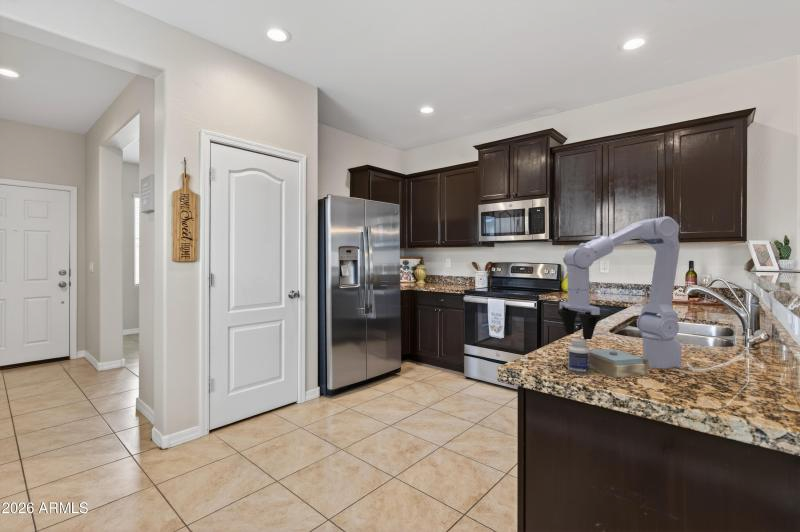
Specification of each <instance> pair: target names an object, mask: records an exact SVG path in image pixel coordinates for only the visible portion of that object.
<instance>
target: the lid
mask: <svg viewBox="0 0 800 532" xmlns="http://www.w3.org/2000/svg"><path fill="white" fill-rule="evenodd" d="M589 351H590V354H592V355H595V356H597V357H600V358H603V359H606V360H609V361H612V362H615V366H622V365H634V364H643V357H641V356H637V355H633V354H631V353H627V352H624V351H621V350H617V349H614V348H610V349H594V350H589Z"/></svg>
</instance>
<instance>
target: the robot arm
mask: <svg viewBox="0 0 800 532" xmlns="http://www.w3.org/2000/svg"><path fill="white" fill-rule="evenodd" d="M679 232H680V225H679V224H678V223H677V222H676V221H675V219H673V218H672V217H671V216H668V215H667V216H662V217H656V218H647V219H640V220H637V221H636V222H632V223H631V224H629V225H627V226H625V227H624V228H621V229H620V230H618V231H616V232H615V233H612V234H611V235H608V236H606V235H599V234H598V235H594V236H593V237H592V239H591V240H589V241H587V242H586V243H584V242H581V243H579V245H578V247H572V248H570V249H568V250H566V252H565V253H564V257H563V258H562V261H563V263H564V265H565V266H566V272H567V275H566V276H567V282H566V283H567V301H559V310H557V314H558V315H559V317H560V319H561V321H562V324H563V328H564V330H565V334H566V335H573V334H574V333H575V325H576V318H577V314H578V318H579V319H580V322H581V327H582V337H583V339H586V340H592V339H593V336H594V331H595V329H596V326H597V324H598V322H599V321H600V320H601V318H602V317H601V316H602V315H601V313H600V311H601V310H600V307H597V306H594V305H591V304H590V267H591V266H593V264H594V262H596V261H598V260H601V259H602V258H604V257H606V256H608V255H610V254H611V253H613V251H614V249H615V247H617V246H619V245H621V244H624V243H625V242H628V241H631V240H633V239H635V238H637V239H638V240H640V241H642V242H643V243H645V244H647V245H648V246H650V247H652V249H653V250H654V251H655V257H654V258H655V259H654V266H653V271H652V278H651V279H652V280H651V286H650V292H649V298H648V302H647V303H646V304H645V305H644V306H643V307H642V308H641V310H640V314H639V316H637V319H636V327H637V329H638V331H640V332H641V334H640V335H641V336H642V358H644V359H647V360H648V368H649V367H650V368H655V369H656V368H657V369H671V368H680V369H685V367H683V366H682V345H681V342H680V341H679V340H678V339H677V338H675V337H676V336H677V335H678V333H679V330H680V325H679V321H678V316H679V315H678V313H677V311H676V310H674V308H673V307H672V302H673V294H674V287H675V282H676V275H677V274H676V273H677V267H678V262H679V256H680V249H681V248H680V247H681V246H680V241H679ZM578 312H580V313H578Z"/></svg>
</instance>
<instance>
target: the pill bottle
mask: <svg viewBox="0 0 800 532" xmlns="http://www.w3.org/2000/svg"><path fill="white" fill-rule="evenodd" d="M587 346H588V339H584V338H582V337H579V338H578V337H573V338H571V339H570V346H568V353H567V354H568V356H567V357H568V360H567V361H568V367H567V368H568V372H570V373H571V374H576V375H588V374H590V371H591V369H590V351H591V350H590V349H589V348H588V347H587Z"/></svg>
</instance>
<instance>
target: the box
mask: <svg viewBox="0 0 800 532" xmlns="http://www.w3.org/2000/svg"><path fill="white" fill-rule="evenodd" d="M642 358H643V357H642ZM590 370H593V371H595V372H598V373H600V374H602V375H605V376H608V377H611V378H613V379H615V378H625V377H637V376H646V375H647V376H649V366H648V360H647V359H644V358H643V364H634V365H622V366H615V362H612V361H609V360H606V359H603V358H600V357H597V356H595V355H592V354H590Z"/></svg>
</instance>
